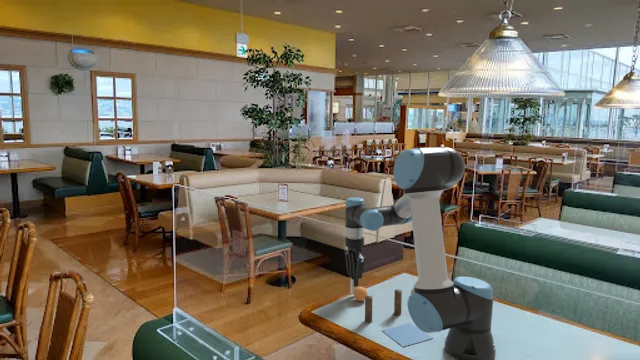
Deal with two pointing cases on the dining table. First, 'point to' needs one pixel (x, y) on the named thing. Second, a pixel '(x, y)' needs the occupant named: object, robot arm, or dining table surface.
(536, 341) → the dining table surface
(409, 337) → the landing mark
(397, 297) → the post right
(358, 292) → the ball
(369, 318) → the post left
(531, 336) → the dining table surface
